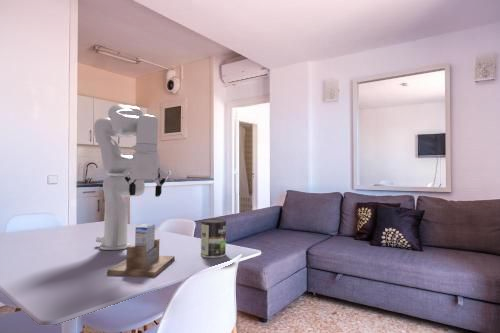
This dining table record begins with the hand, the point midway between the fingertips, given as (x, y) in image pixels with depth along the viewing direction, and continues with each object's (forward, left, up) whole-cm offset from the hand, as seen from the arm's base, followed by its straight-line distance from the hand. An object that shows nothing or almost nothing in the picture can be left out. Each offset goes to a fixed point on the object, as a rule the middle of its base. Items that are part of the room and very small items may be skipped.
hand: (145, 195), depth 119 cm
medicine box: (+2, -4, -19) cm, 20 cm away
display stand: (+2, -4, -25) cm, 25 cm away
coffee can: (+23, +16, -25) cm, 38 cm away
